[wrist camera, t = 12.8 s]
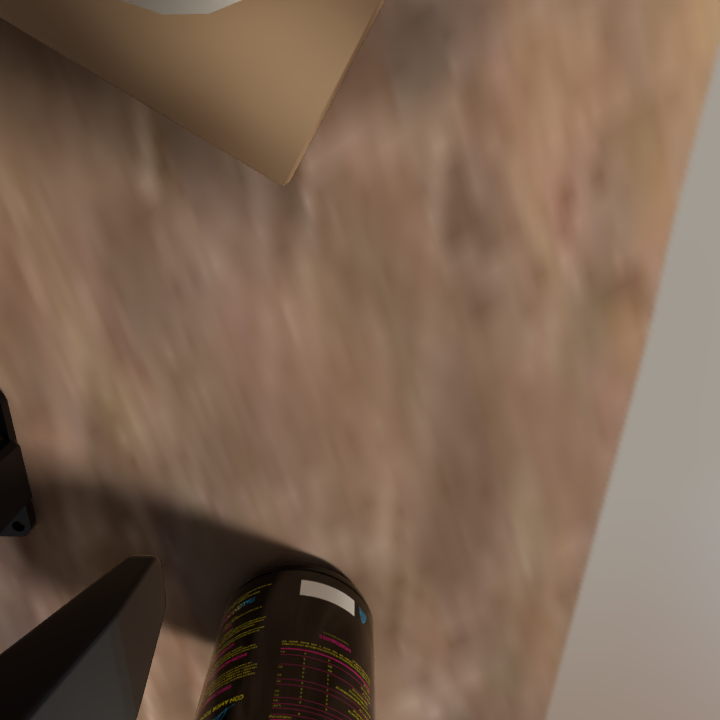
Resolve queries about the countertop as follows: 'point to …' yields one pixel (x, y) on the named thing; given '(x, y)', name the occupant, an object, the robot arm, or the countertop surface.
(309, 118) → the tan board
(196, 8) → the can
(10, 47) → the countertop surface
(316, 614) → the supplement container
